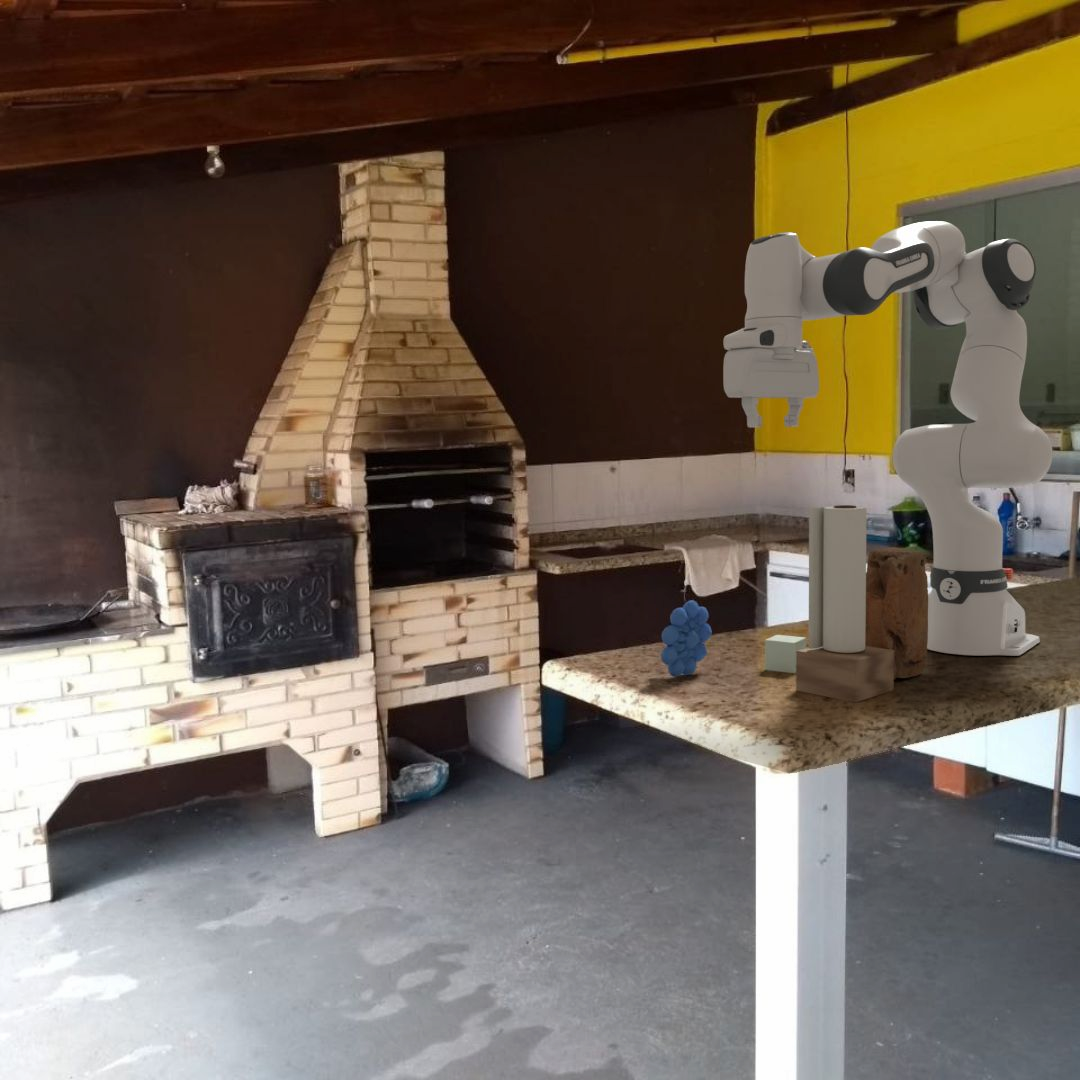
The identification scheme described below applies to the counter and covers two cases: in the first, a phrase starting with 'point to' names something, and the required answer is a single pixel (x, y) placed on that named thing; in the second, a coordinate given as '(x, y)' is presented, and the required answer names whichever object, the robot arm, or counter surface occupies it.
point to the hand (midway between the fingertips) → (773, 427)
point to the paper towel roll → (837, 578)
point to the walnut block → (845, 673)
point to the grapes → (685, 639)
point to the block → (898, 607)
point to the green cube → (783, 652)
